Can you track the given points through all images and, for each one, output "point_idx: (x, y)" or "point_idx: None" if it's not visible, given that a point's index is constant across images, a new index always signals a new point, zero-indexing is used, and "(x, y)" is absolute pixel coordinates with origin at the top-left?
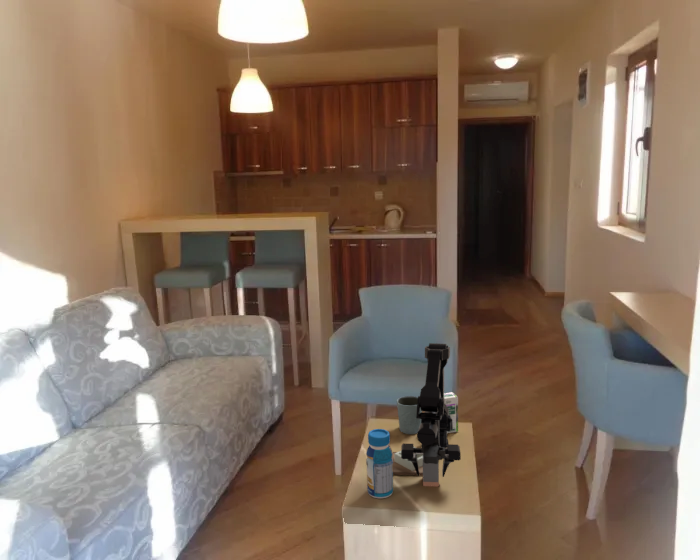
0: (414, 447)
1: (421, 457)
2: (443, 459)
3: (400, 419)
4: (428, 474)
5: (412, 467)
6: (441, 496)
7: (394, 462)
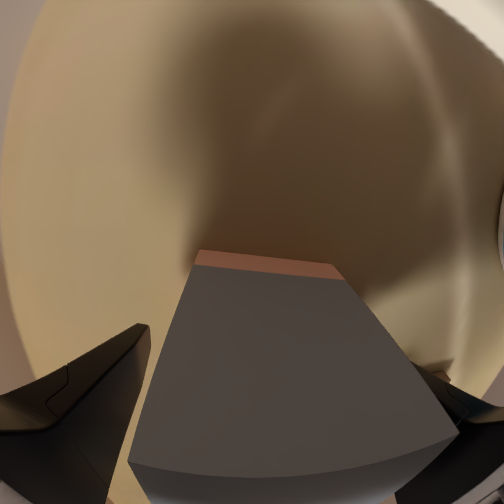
0: None
1: None
2: (109, 481)
3: None
4: (316, 319)
5: None
6: (203, 86)
7: None
